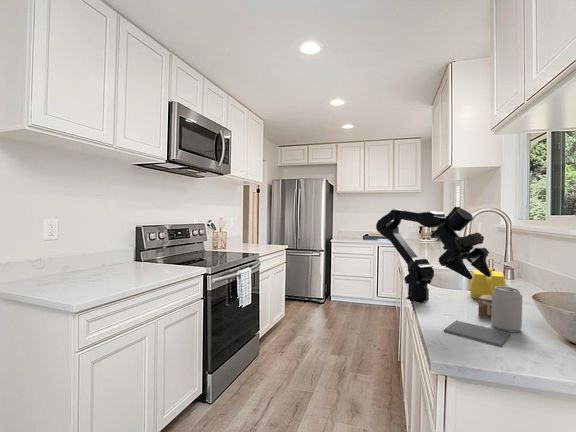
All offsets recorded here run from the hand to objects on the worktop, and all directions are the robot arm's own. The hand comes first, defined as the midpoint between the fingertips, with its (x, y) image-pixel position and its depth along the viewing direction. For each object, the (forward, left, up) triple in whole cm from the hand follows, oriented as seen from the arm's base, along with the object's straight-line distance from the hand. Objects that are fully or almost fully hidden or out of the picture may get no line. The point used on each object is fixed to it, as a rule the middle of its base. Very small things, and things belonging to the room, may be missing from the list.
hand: (480, 277), depth 102 cm
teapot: (-5, +34, -14) cm, 37 cm away
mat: (+3, -14, -13) cm, 19 cm away
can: (+8, -3, -14) cm, 16 cm away
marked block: (+2, +7, -14) cm, 15 cm away
